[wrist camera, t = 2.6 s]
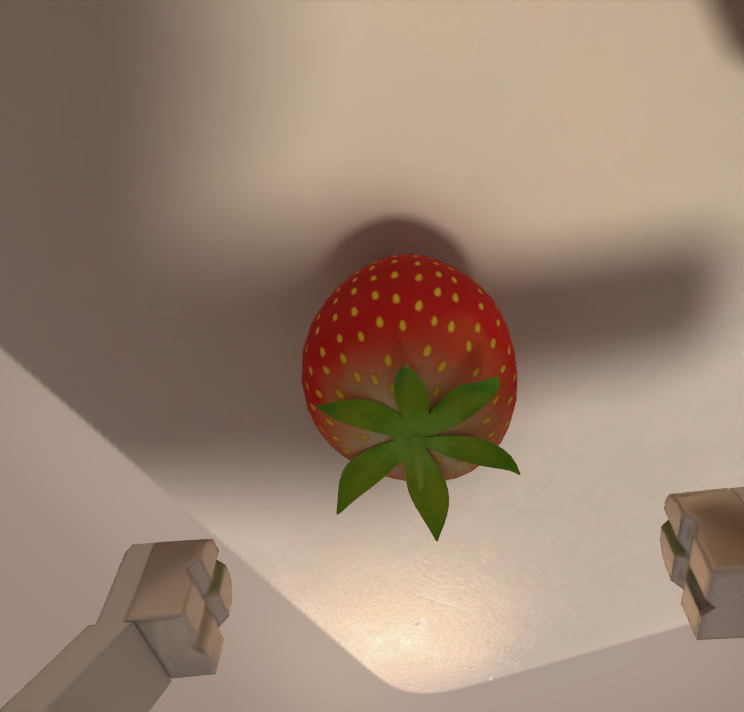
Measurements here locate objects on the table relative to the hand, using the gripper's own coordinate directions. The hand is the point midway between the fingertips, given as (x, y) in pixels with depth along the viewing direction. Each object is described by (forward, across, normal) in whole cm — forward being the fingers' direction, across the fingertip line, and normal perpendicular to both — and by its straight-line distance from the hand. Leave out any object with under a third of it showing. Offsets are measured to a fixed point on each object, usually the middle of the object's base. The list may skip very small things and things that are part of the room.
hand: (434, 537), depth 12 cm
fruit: (+9, 0, 0) cm, 9 cm away
